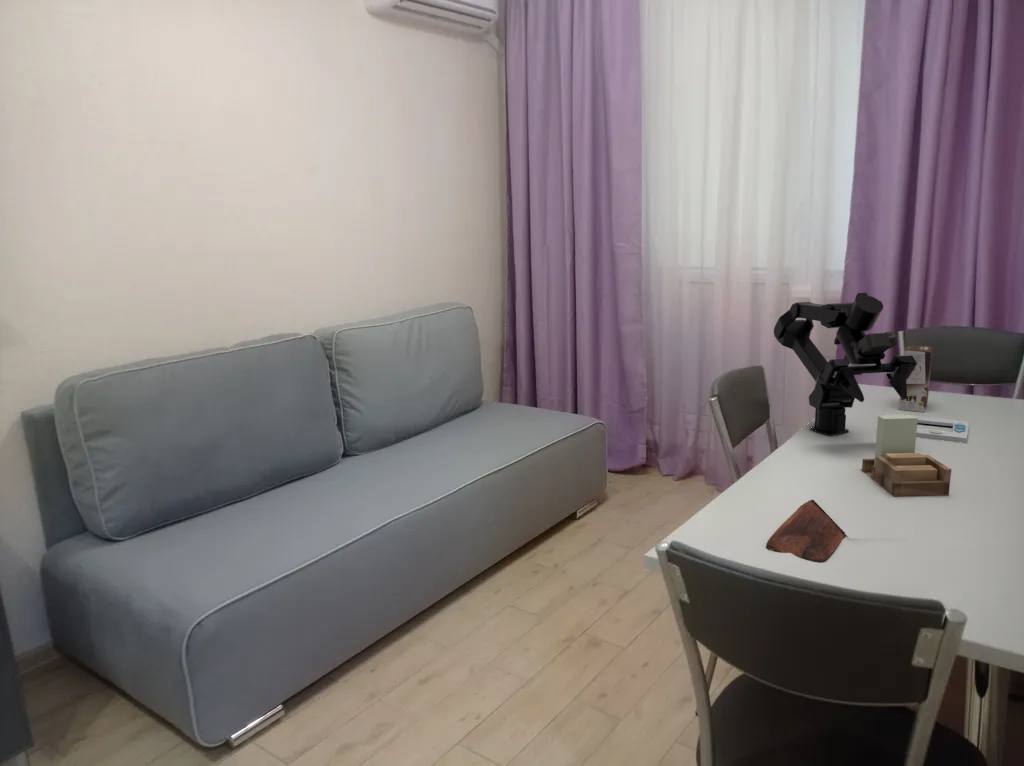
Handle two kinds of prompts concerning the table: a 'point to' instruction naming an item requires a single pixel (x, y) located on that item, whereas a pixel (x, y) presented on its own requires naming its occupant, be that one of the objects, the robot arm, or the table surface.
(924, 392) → the coffee box
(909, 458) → the oak offcut
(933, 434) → the electronic device
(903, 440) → the tall board
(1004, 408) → the table surface
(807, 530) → the wooden tablet
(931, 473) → the small oak offcut
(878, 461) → the offcut rack
